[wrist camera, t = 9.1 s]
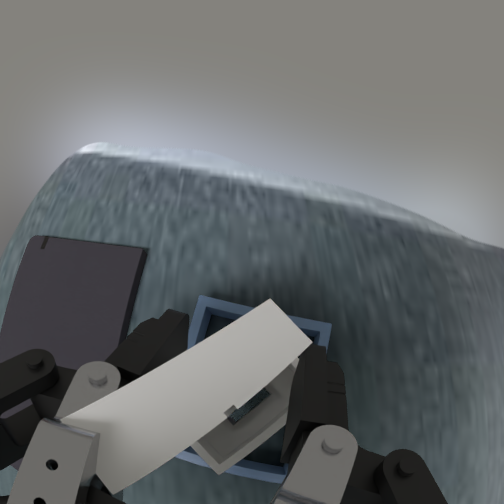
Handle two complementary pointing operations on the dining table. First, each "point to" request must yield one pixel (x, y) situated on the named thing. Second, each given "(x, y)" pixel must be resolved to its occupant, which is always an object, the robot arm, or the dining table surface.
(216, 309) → the blue rectangular frame
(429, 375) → the dining table surface
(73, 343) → the notebook
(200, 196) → the dining table surface
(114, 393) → the white angled block
